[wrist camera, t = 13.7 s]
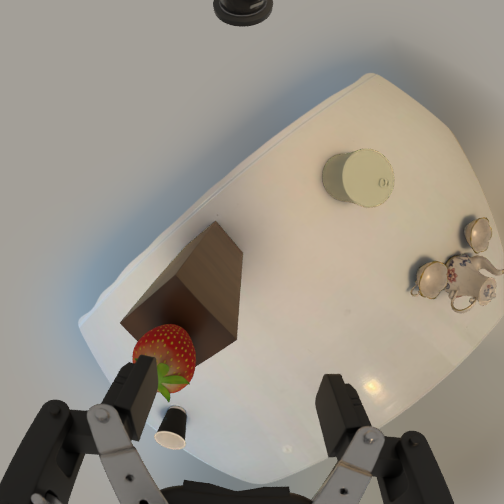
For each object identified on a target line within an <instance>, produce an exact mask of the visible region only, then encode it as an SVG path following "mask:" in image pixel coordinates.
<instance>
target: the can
mask: <svg viewBox="0 0 504 504" xmlns="http://www.w3.org/2000/svg"><path fill="white" fill-rule="evenodd" d="M322 179H323V184H324V187H325V189H326V190H327V192H328V193H329V194H330V195H331V196H332V197H333V198H335V199H337V200H339V201H347V202H351V203H354V204H358V205H360V206H363V207H368V208H370V207H376V206H379V205H381V204H382V203H384V202H385V201H386V200H387V199H388V198H389V196H390V195H391V193H392V190H393V187H394V173H393V169H392V166H391V164H390V163H389V161H388V160H387V158H386V157H385V156H384V155H382V154H381V153H380V152H378V151H376V150H373V149H360V150H357V151H355V152H351V153H346V154H338V155H335V156H333V157H332V158H330V159H329V160H328V161H327V163H326V164H325V166H324V169H323V174H322Z"/></svg>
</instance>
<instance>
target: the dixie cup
mask: <svg viewBox="0 0 504 504" xmlns="http://www.w3.org/2000/svg"><path fill="white" fill-rule="evenodd" d="M186 418H187V415H186V411H185V410H184V409H183V408H181V407H178V406H172V407H170V408H169V409H168V411H167V413H166V415H165V417H164V419H163V421H162V423H161V425H160V427H159V429H158V431H157V433H156V434H155V435H154V438H155V440H156V441H157V442H158V443H159V444H160V445H162V446H164V447H166V448H169V449H182V448H184V447H185V445H186V442H185V432H186Z"/></svg>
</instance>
